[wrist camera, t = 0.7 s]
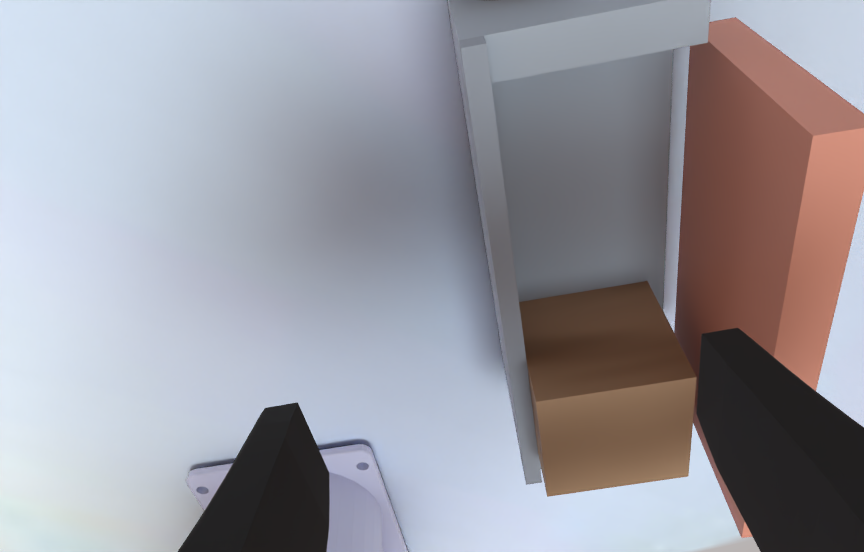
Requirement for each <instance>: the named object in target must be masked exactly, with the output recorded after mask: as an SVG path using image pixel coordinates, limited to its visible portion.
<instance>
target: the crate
mask: <svg viewBox="0 0 864 552" xmlns="http://www.w3.org/2000/svg"><path fill="white" fill-rule="evenodd" d="M519 306H520V314H521V321H522V329H523V337H524V345H525V353H526V361H527V369H528V377H529V385H530V392H531V400H532V408H533V416H534V424H535V432H536V440H537V448H538V455H539V459H540V464H541V469H542V473H543V478H544V483H545V487H546V492H547V497H548V496H555V495H562V494H569V493H576V492H582V491H589V490H596V489H603V488H610V487H617V486H624V485H631V484H638V483H645V482H652V481H659V480H666V479H673V478H680V477H687V476H688V473H689V461H690V449H691V438H692V426H693V414H694V402H695V390H696V379H697V377H696V375H695V373H694V371H693V369H692V367H691V365H690V363H689V361H688V359H687V357H686V355H685V353H684V352H683V350H682V348H681V346H680V344H679V342H678V340H677V338H676V336H675V334H674V332H673V330H672V328H671V326H670V324H669V322H668V320H667V318H666V316H665V314H664V312H663V310H662V309H661V307H660V305H659V303H658V301H657V299H656V297H655V295H654V293H653V291H652V289H651V287H650V285H649V283H648V281H644V282H638V283H632V284H626V285H620V286H614V287H607V288H601V289H595V290H589V291H583V292H577V293H571V294H565V295H559V296H553V297H547V298H541V299H535V300H529V301H522V302H519Z"/></svg>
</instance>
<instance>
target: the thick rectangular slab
mask: <svg viewBox="0 0 864 552" xmlns="http://www.w3.org/2000/svg"><path fill="white" fill-rule="evenodd" d="M863 191H864V114H863V113H862V112H861V111H859V110H858V109H857V108H855V107H854V106H853V105H851V104H850V103H849V102H847V101H846V100H845V99H843V98H842V97H841V96H840V95H838V94H837V93H836V92H834V91H833V90H832V89H830V88H829V87H828V86H826V85H825V84H824V83H822V82H821V81H820V80H818V79H817V78H816V77H814V76H813V75H812V74H810V73H809V72H808V71H806V70H805V69H804V68H802V67H801V66H800V65H798V64H797V63H796V62H794V61H793V60H792V59H790V58H789V57H788V56H786V55H785V54H784V53H782V52H781V51H780V50H778V49H777V48H776V47H774V46H773V45H772V44H770V43H769V42H768V41H766V40H765V39H764V38H762V37H761V36H760V35H758V34H757V33H756V32H754V31H753V30H752V29H750V28H749V27H748V26H746V25H745V24H744V23H742V22H741V21H740V20H738V19H737V18H736V17H735V18H730V19H724V20H718V21H713V22H709V32H708V43H704V44H698V45H693V46H690V55H689V74H688V92H687V111H686V129H685V148H684V166H683V185H682V203H681V222H680V240H679V259H678V277H677V296H676V314H675V333H674V334H675V336H676V338H677V340H678V342H679V344H680V346H681V348H682V350H683V352H684V353H685V355H686V357H687V359H688V361H689V363H690V365H691V367H692V369H693V371H694V373H695V375H696V377H697V379H696V390H695V402H694V414H693V423H694V426H695V428H696V430H697V433H698V435H699V438H700V440H701V442H702V445H703V447H704V449H705V452H706V454H707V457H708V459H709V461H710V464H711V466H712V468H713V471H714V473H715V476H716V478H717V480H718V483H719V485H720V487H721V490H722V492H723V495H724V497H725V499H726V502H727V504H728V506H729V509H730V511H731V514H732V516H733V518H734V521H735V523H736V525H737V528H738V530H739V533H740V535H741V537H742V538H744V537H753V536H752V534H751V532H750V530H749V528H748V527H747V525H746V523H745V521H744V519H743V517H742V515H741V513H740V511H739V510H738V508H737V506H736V504H735V502H734V500H733V498H732V496H731V494H730V492H729V490H728V488H727V486H726V484H725V483H724V481H723V479H722V477H721V475H720V473H719V471H718V469H717V467H716V464H715V462H714V459H713V457H712V454H711V451H710V449H709V446H708V444H707V441H706V438H705V436H704V433H703V430H702V428H701V425H700V422H699V419H698V417H697V414H696V413H697V397H698V382H699V366H700V351H701V335H702V334H703V333H709V332H715V331H721V330H727V329H733V328H739V329H740V330H742V331H743V332H744V333H746V334H747V335H748V336H749V337H750V338H752V339H753V340H754V341H755V342H756V343H758V344H759V345H760V346H761V347H762V348H763V349H765V350H766V351H767V352H768V353H769V354H771V355H772V356H773V357H774V358H775V359H777V360H778V361H779V362H780V363H781V364H783V365H784V366H785V367H786V368H788V369H789V370H790V371H791V372H792V373H794V374H795V375H796V376H797V377H799V378H800V379H801V380H802V381H804V382H805V383H806V384H807V385H809V386H810V387H811V388H812V389H814V390H815V391H816V388H817V384H818V379H819V375H820V371H821V367H822V363H823V358H824V354H825V350H826V346H827V342H828V338H829V333H830V329H831V325H832V321H833V317H834V312H835V308H836V304H837V300H838V296H839V292H840V287H841V283H842V279H843V275H844V271H845V267H846V262H847V258H848V254H849V250H850V246H851V241H852V237H853V233H854V229H855V225H856V221H857V216H858V212H859V208H860V204H861V200H862V196H863Z"/></svg>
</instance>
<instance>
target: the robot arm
mask: <svg viewBox="0 0 864 552" xmlns="http://www.w3.org/2000/svg"><path fill="white" fill-rule="evenodd" d="M696 414H697V417H698V419H699V422H700V425H701V428H702V430H703V433H704V436H705V438H706V441H707V444H708V446H709V449H710V451H711V454H712V457H713V459H714V462H715V464H716V467H717V469H718V471H719V473H720V475H721V477H722V479H723V481H724V483H725V484H726V486H727V488H728V490H729V492H730V494H731V496H732V498H733V500H734V502H735V504H736V506H737V508H738V510H739V511H740V513H741V515H742V517H743V519H744V521H745V523H746V525H747V527H748V528H749V530H750V532H751V534H752V536H753V538H754V540H755V542H756V543H757V546H758V547H759V549H760V551H761V552H864V427H862V426H861V425H860V424H858V423H857V422H855V421H854V420H853V419H851V418H850V417H849V416H847V415H846V414H845V413H844V412H842V411H841V410H840V409H838V408H837V407H836V406H834V405H833V404H832V403H830V402H829V401H828V400H826V399H825V398H824V397H823V396H821V395H820V394H819V393H817V392H816V391H815V390H814V389H812V388H811V387H810V386H809V385H807V384H806V383H805V382H804V381H802V380H801V379H800V378H799V377H797V376H796V375H795V374H794V373H792V372H791V371H790V370H789V369H788V368H786V367H785V366H784V365H783V364H781V363H780V362H779V361H778V360H777V359H775V358H774V357H773V356H772V355H771V354H769V353H768V352H767V351H766V350H765V349H763V348H762V347H761V346H760V345H759V344H758V343H756V342H755V341H754V340H753V339H752V338H750V337H749V336H748V335H747V334H746V333H744V332H743V331H742V330H740V329H739V328H733V329H727V330H721V331H715V332H709V333H703V334H702V335H701V351H700V366H699V382H698V397H697V413H696ZM361 462H365V463H361ZM186 483H187V485H188V486H189V488H190V490H191V491H192V493H193V494H194V496H195V497H196V499H197V500H198V502H199V504H200V505H201V507H202V508H203V510H204V513H203V514H202V516H201V517H200V519H199V520H198V522H197V524H196V525H195V527H194V528H193V530H192V531H191V533H190V534H189V536H188V537H187V539H186V540H185V542H184V543H183V545H182V546H181V548H180V549H179V551H178V552H408V550H407V547H406V545H405V542H404V539H403V536H402V533H401V531H400V528H399V525H398V522H397V519H396V517H395V514H394V511H393V508H392V505H391V503H390V500H389V497H388V494H387V491H386V489H385V486H384V483H383V480H382V477H381V475H380V472H379V469H378V466H377V463H376V461H375V458H374V455H373V452H372V450H371V448H370V447H368V446H367V445H363V444H356V445H349V446H343V447H336V448H330V449H323V450H319V449H318V447H317V444H316V442H315V440H314V438H313V436H312V433H311V431H310V429H309V427H308V425H307V422H306V420H305V418H304V416H303V414H302V411H301V409H300V407H299V405H298V403H292V404H286V405H281V406H275V407H269V408H265V409H264V411H263V412H262V413H261V415H260V417H259V418H258V420H257V422H256V424H255V425H254V427H253V429H252V431H251V433H250V434H249V436H248V438H247V440H246V441H245V443H244V445H243V447H242V449H241V450H240V452H239V454H238V456H237V457H236V459H235V461H234V462H233V463H231V464H225V465H218V466H212V467H205V468H199V469H194V470H191V471H190V472H189V473H188V476H187V479H186Z"/></svg>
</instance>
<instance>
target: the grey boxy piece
mask: <svg viewBox="0 0 864 552" xmlns="http://www.w3.org/2000/svg"><path fill="white" fill-rule="evenodd" d="M447 3H448V10H449V16H450V22H451V29H452V35H453V42H454V48H455V55H456V61H457V67H458V74H459V80H460V87H461V93H462V99H463V106H464V112H465V119H466V125H467V132H468V138H469V144H470V151H471V157H472V164H473V170H474V177H475V183H476V189H477V196H478V202H479V209H480V215H481V222H482V228H483V234H484V241H485V247H486V254H487V260H488V266H489V273H490V279H491V286H492V292H493V299H494V305H495V311H496V318H497V324H498V331H499V337H500V344H501V350H502V356H503V363H504V368H505V374H506V379H507V384H508V390H509V395H510V400H511V406H512V411H513V416H514V422H515V427H516V432H517V438H518V443H519V448H520V454H521V459H522V464H523V470H524V475H525V480H526V485H527V484H534V483H541V482H542V479H541V471H540V469H541V464H540V459H539V455H538V448H537V440H536V432H535V424H534V416H533V408H532V400H531V392H530V385H529V377H528V369H527V361H526V353H525V345H524V337H523V329H522V321H521V314H520V306H519V302H522V301H529V300H535V299H541V298H547V297H553V296H559V295H565V294H571V293H577V292H583V291H589V290H595V289H601V288H607V287H614V286H620V285H626V284H632V283H638V282H644V281H648V283H649V285H650V287H651V289H652V291H653V293H654V295H655V297H656V299H657V301H658V303H659V305H660V307H661V309H662V310H663V299H664V274H665V249H666V223H667V198H668V172H669V147H670V122H671V96H672V71H673V49H677V48H682V47H688V46H693V45H698V44H704V43H708V32H709V18H710V3H711V0H447Z"/></svg>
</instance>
